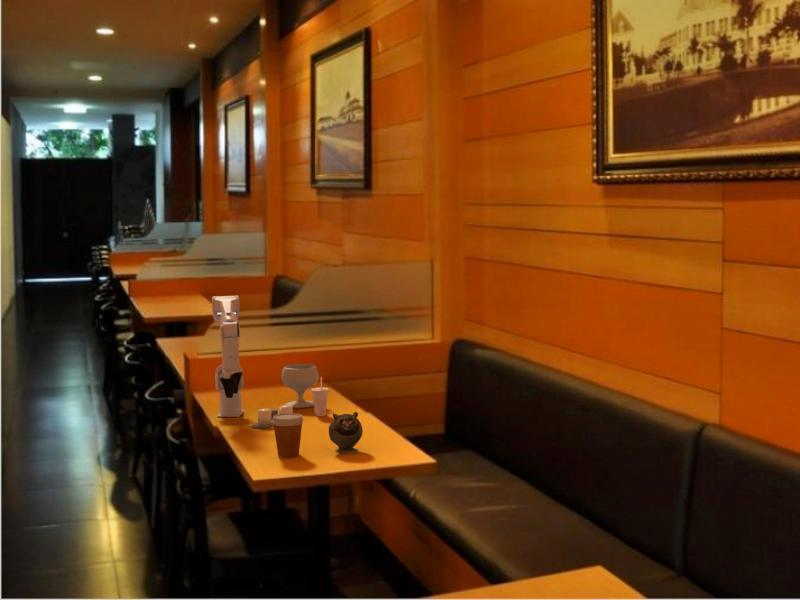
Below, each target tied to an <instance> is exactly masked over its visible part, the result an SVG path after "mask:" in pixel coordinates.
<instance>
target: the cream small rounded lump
mask: <svg viewBox="0 0 800 600" xmlns="http://www.w3.org/2000/svg"><path fill="white" fill-rule="evenodd" d="M278 409H279V410H278V412H279V414H283V413H293V412H294V411H293V409H294V408H293V406H291V405H285V404H284V405H279V408H278Z"/></svg>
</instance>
